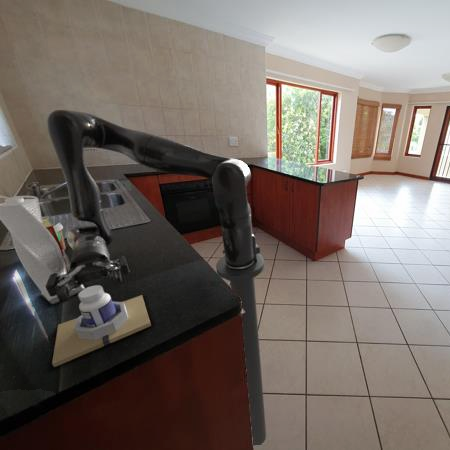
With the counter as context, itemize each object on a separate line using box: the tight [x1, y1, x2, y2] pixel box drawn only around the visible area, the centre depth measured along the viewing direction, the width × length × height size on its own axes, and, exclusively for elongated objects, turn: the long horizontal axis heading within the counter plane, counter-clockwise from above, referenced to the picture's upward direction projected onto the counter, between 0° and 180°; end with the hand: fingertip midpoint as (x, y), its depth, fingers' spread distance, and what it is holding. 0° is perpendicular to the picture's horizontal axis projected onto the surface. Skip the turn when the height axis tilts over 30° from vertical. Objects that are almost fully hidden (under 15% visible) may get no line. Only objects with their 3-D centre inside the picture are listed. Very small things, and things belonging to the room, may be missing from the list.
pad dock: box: [51, 294, 152, 368], centre depth 53 cm, size 16×12×4 cm
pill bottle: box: [77, 284, 117, 328], centre depth 51 cm, size 5×5×9 cm
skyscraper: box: [0, 195, 87, 305], centre depth 58 cm, size 8×8×28 cm
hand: (91, 289), depth 50 cm, fingers open, 8 cm apart
